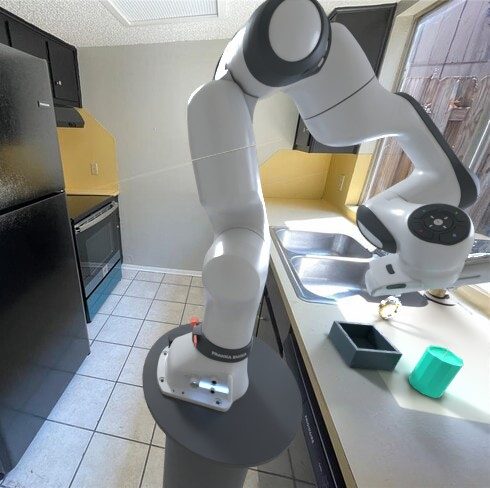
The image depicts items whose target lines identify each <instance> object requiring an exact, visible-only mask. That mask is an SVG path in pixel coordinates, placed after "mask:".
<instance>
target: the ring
mask: <svg viewBox="0 0 490 488" xmlns="http://www.w3.org/2000/svg"><path fill="white" fill-rule="evenodd" d="M391 305H395V309H394V311H393V312H392V313H390V314H382V311H383V310H384V309H386V308H387V307H389V306H391ZM402 307H403V303H401V301H400V299H399V298H398V297H393V296H389V297H387V298H385V299H384V300H382V301H381V302H380V304H379V305H378V307H377V309H376V313H377V315H378V316H379V317H380V318H382V319H383V320H387V319H391V318H393V317H394V318H395V317H396V316H397V315H398V314H399V313H401V310H402Z"/></svg>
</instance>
